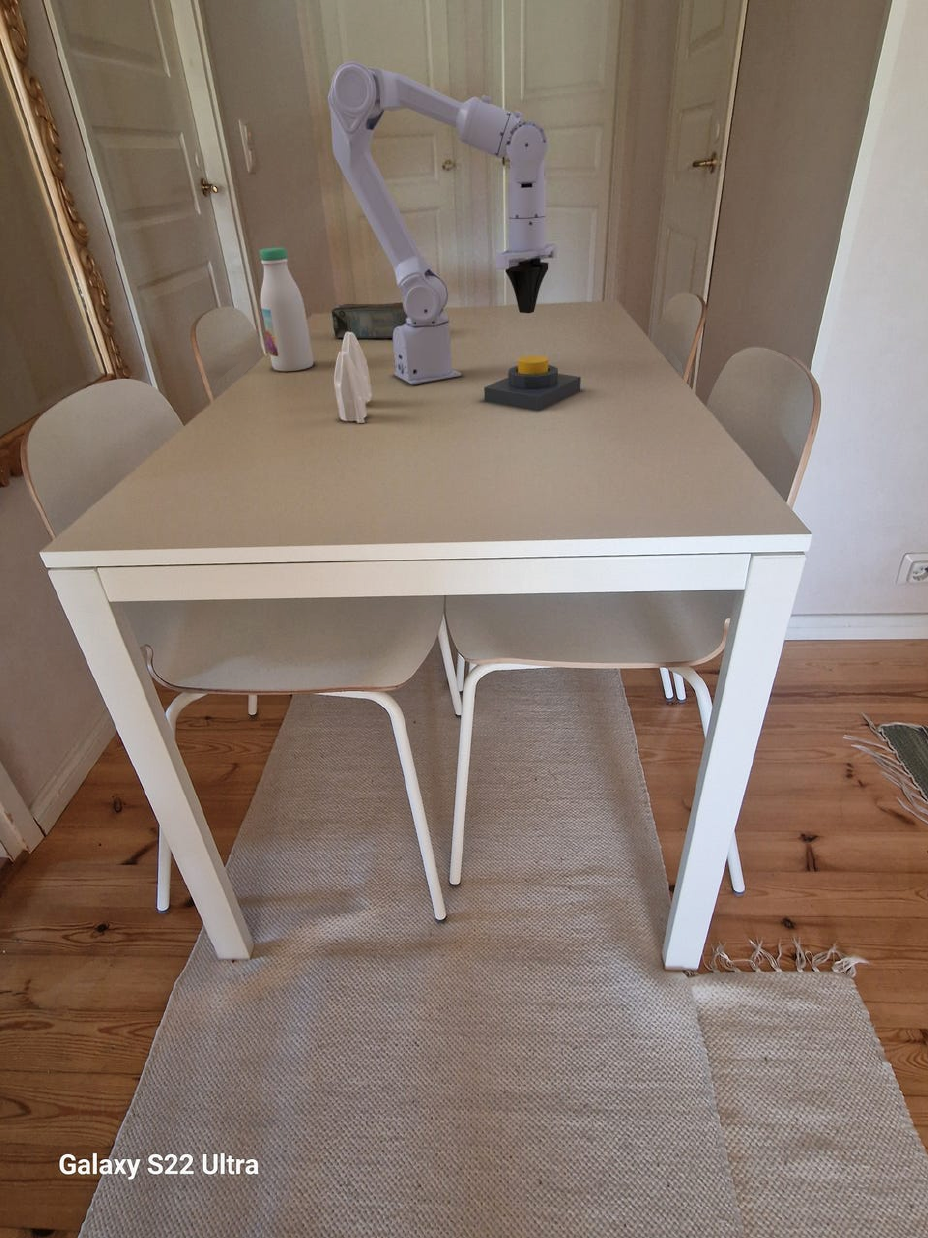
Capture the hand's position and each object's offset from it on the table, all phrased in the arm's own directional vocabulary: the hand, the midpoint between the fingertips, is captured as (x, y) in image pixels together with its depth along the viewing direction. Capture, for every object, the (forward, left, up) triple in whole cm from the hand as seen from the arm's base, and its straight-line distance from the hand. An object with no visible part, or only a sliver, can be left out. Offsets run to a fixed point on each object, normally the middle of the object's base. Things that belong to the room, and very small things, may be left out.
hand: (526, 312), depth 113 cm
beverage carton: (-9, +47, -10) cm, 49 cm away
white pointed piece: (-32, -3, -10) cm, 34 cm away
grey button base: (-6, -12, -10) cm, 17 cm away
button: (-6, -12, -6) cm, 15 cm away
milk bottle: (-33, +31, -10) cm, 46 cm away
